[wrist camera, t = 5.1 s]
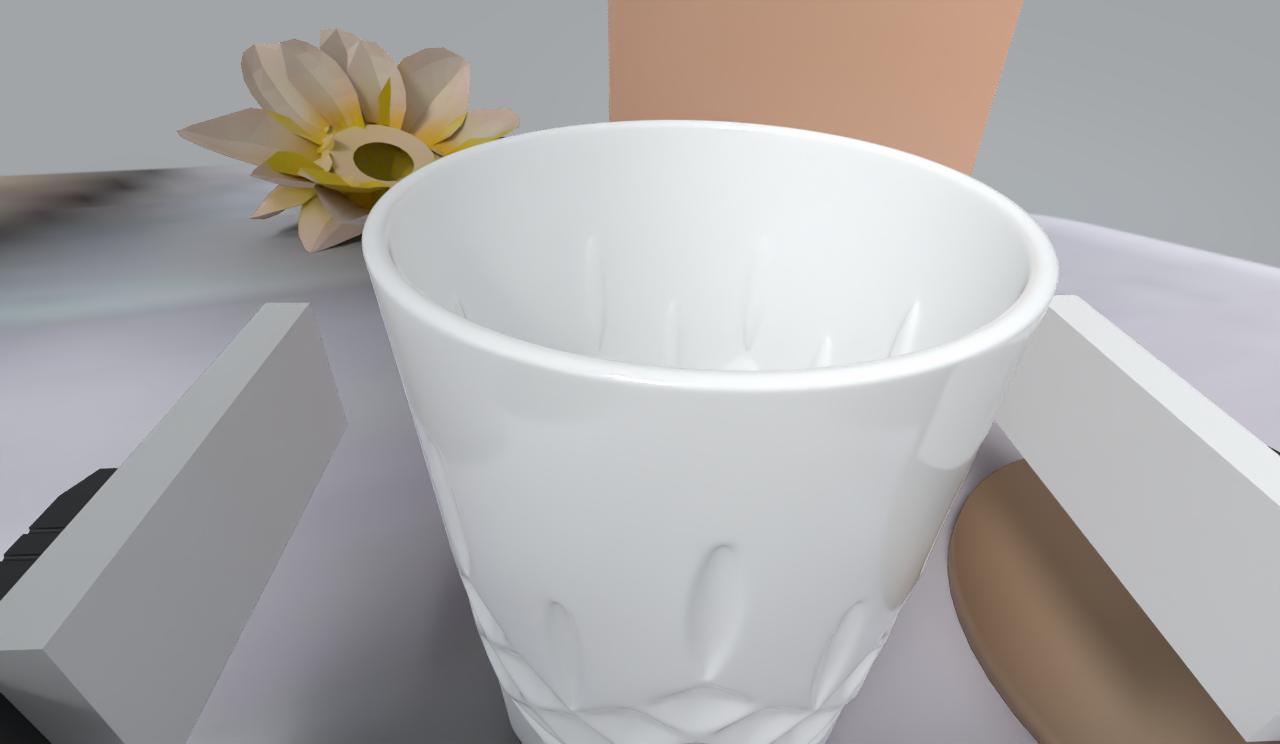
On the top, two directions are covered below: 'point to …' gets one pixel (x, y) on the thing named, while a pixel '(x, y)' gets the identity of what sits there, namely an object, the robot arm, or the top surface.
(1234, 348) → the top surface
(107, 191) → the top surface
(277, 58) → the decorative flower
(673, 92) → the tile
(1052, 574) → the coaster
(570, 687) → the white cup
